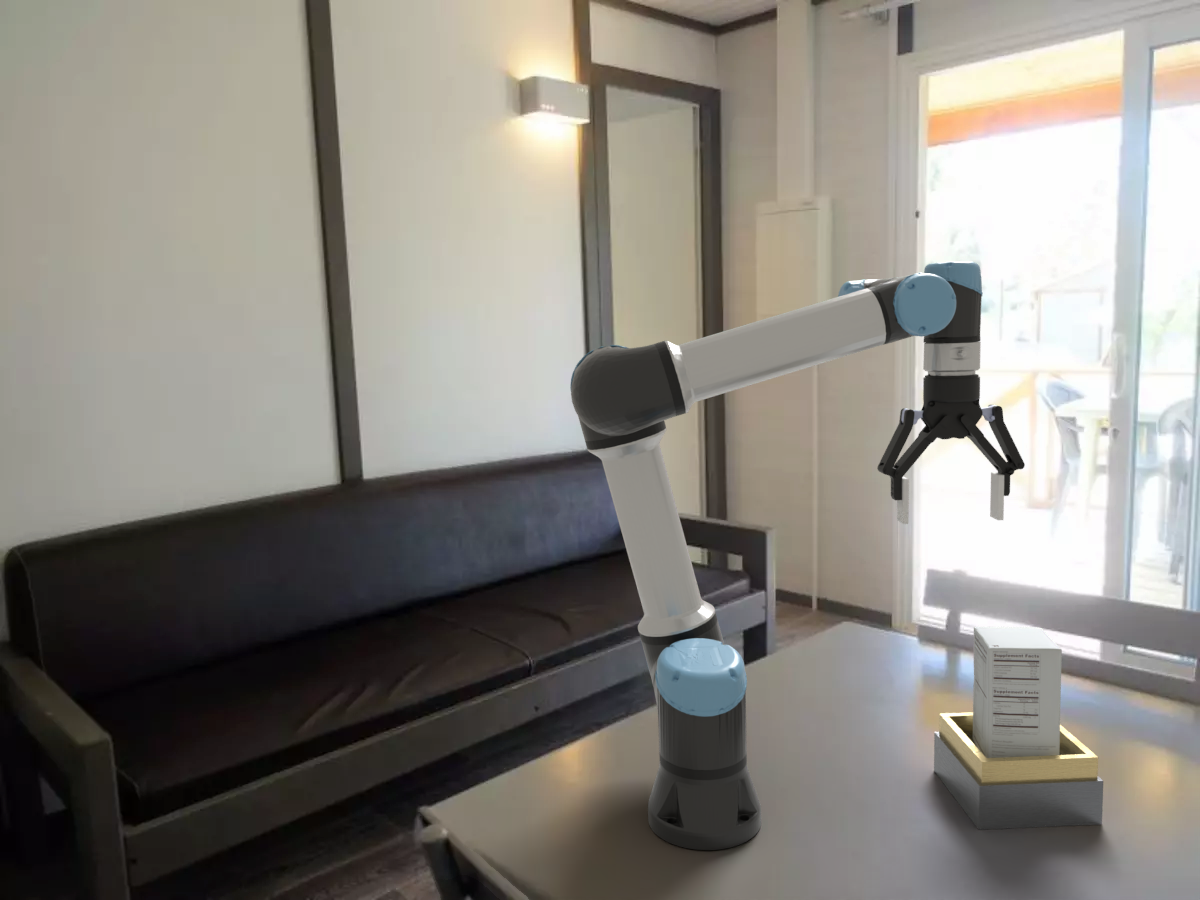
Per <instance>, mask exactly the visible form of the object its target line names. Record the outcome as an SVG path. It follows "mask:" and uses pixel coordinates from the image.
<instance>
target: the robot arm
mask: <svg viewBox="0 0 1200 900" xmlns="http://www.w3.org/2000/svg"><path fill="white" fill-rule="evenodd" d="M923 271H924V272H922V271H921V272H915V273H913V274H909V275H905V276H897V277H888V278H878V279H865V278H864V279H860V280H847V281H846V282H844V283H843V284H842V285H841V286H840V289H839V291H838V295H837V296H836V297H833V298H830V299H826V300H824V301H819V302H817V303H813V304H811V305H806V306H803V307H800V308H797V309H793V310H790V311H787V312H784V313H780V314H777V315H774V316H773V315H772V316H770V317H767V318H763V319H760V320H757V321H753V322H750V323H747V324H744V325H741V326H736V327H734V328H730V329H727V330H723V331H720V332H717V333H714V334H710V335H707V336H704V337H701V338H697V339H693V340H690V341H688V342H687V341H686V342H684V343H680V344H674V343H672V342H670V341H668V340H664V341H663V340H662V341H660V342H656V343H653V344H649V345H645V346H644V345H643V346H638V347H637V346H636V347H627V346H623V345H618V344H610V345H605V346H604V345H603V346H600V347H598V348H594V349H592V350H591V351H589V352H587V353H586V354H585V355H583V357H581V358H580V360H579V361H578V362H577V363H576V365H575V367H574V369H573V372H572V374H571V378H570V396H571V402H572V405H573V408H574V411H575V414H576V415H577V417H578V421H579V425H580V428H581V431H582V434H583V435H582V436H583V439H584V442H585V445H586V450H587V452H589V453H591V454H592V455H594V456H596V457H598V458H599V459H600V460H601V463H602V468H603V471H604V474H605V478H606V481H607V485H608V488H609V491H610V496H611V499H612V502H613V506H614V510H615V514H616V517H617V521H618V524H619V529H620V531H621V534H622V538H623V542H624V545H625V549H626V553H627V557H628V561H629V563H630V567H631V571H632V575H633V578H634V581H635V585H636V588H637V593H638V596H639V600H640V602H641V603H640V604H641V606H642V607H641V608H642V611H643V617H641V620H640V622H638V625H637V630H638V634H639V637H640V642H641V645H642V648H643V652H644V657H645V659H646V660H645V661H646V666H647V669H648V672H649V675H650V677H651V683H652V686H653V687H652V688H653V691H654V697H655V701H656V707H657V719H658V720H657V721H658V722H657V723H658V726H657V727H658V750H659V751H658V752H659V753H658V754H659V765H658V766H659V767H658V769H657V772H656V775H655V776H656V777H655V779H654V782H653V786H652V788H651V792H650V795H649V798H648V803H647V804H648V805H647V811H648V812H647V814H648V815H647V816H648V819H647V821H648V824H649V827H650V828H651V831H653V833H654V834H655V835H656V836H657V837H659V838H660V839H661V840H663V841H665V842H667V843H669V844H672V845H673V846H677V847H681V848H685V849H689V850H696V851H715V850H716V851H718V850H725V849H730V848H734V847H736V846H739V845H742V844H745V843H746V842H748V841H749V840H750V839H752V838H754V837H755V836H756V835H757V833H758V832H759V831H760V830H761V826H762V806H761V800H760V799H759V796H758V795H759V794H758V793H757V790H756V787H755V785H754V781H753V779H752V776H751V772H750V771H749V768H748V755H747V752H748V751H747V748H748V747H747V742H748V741H747V699H746V698H747V697H746V695H747V685H748V679H747V678H748V677H747V673H746V668H745V662H744V660H743V657H742V655H741V654H740V653H739V652H738V651H737V650H736V649H735V648H734V647H732V646H731V645H729V644H725V642H724V639H723V635H722V631H721V627H720V624H719V620H718V615H717V613H716V608H715V607H714V605H713V604H711V603H710V602H707V601H705V600H703V599H702V597H701V594H700V593H701V592H700V589H699V586H698V582H697V577H696V575H695V571H694V566H693V564H692V563H693V562H692V560H691V556H690V551H689V549H688V545H687V541H686V536H685V533H684V530H683V526H682V522H681V519H680V516H679V511H678V507H677V503H676V501H675V496H674V494H673V489H672V485H671V481H670V477H669V474H668V471H667V466H666V463H665V459H664V455H663V451H662V447H661V445H660V444H661V440H662V439H663V436H665V434H666V431H667V426H666V422H665V421H667V420H669V419H673V418H675V417H678V416H681V415H684V414H687V413H689V411H690V409H691V407H692V406H693V405H694V404H695V403H696V402H699V401H703V400H706V399H709V398H712V397H713V398H714V397H717V396H719V395H722V394H726V393H730V392H733V391H737V390H739V389H742V388H743V389H744V388H745V387H748V386H751V385H755V384H758V383H762V382H765V381H769V380H771V379H775V378H779V377H781V376H785V375H789V374H791V373H792V374H793V373H794V372H798V371H801V370H805V369H808V368H810V367H811V368H812V367H814V366H817V365H821V364H823V363H828V362H831V361H834V360H838V359H842V358H844V357H847V356H850V355H853V354H854V355H855V354H857V353H861V352H864V351H867V350H870V349H874V348H876V347H880V346H883V345H888V344H891V343H895V342H898V341H902V340H905V339H909V338H911V337H921V338H922V337H923V361H922V362H923V366H922V367H923V369H922V370H924V372H927V374H925V375H924V377H923V378H922V379H923V387H922V388H923V389H922V391H923V392H922V395H923V396H922V397H923V398H922V401H923V403H922V404H923V405H922V408H921V409H920V410H919V409H911V408H907V407H903V408H902V409H900V412H899V413H900V414H899V422H898V424H897V426H896V429H895V431H894V433H893V435H892V437H891V439H890V440H889V443H888V445H887V447H886V449H885V451H884V453H883V455H882V456H881V459H880V461H879V463H878V465H877V471H878V472H879V473H881V474H883V475H884V476H885V475H886V476H889V478H890V496H891V499H892V500H894V501H897V503H896V520H897V521H898V522H899V523H901V524H902V525H908V524H909V518H910V517H909V516H910V515H909V512H910V511H909V510H910V509H909V504H910V503H909V500H910V499H909V498H910V497H909V495H910V493H909V492H910V491H909V490H910V489H909V488H910V487H909V486H910V485H909V483H910V481H909V480H910V479H909V478H908V477H905V475H906V473H908V471H909V470H910V468H912V467H913V465H914V464H915V463H916V462H917V460H918V459H919V458H920V457H921V456H922V455H923V453H924V452H925V451H926V449H927V448H928V447H929V446H930V445H931V444H932V443H934V442H935V441H936V440H937V439H940V440H950V439H953V438H954V439H958V440H959V439H960V440H963V439H965V438H968V440H971V443H972V444H973V445H975V447H976V448H977V449H978V450H979V451H980V452H981V453H982V454H983V456H984V457H985V458H986V459H987V460H988V462H989V463H990V464H991V465H992V466H993V467H994V468H995V470H996V471H997V472H994V471H993V472H990V508H989V511H990V514H989V515H990V517H991V518H992V519H995V520H997V521H1004V511H1005V508H1004V506H1005V499H1004V498H1005V497H1009V496H1010V492H1011V476H1012V475H1014V474H1015V471H1018V470H1023V469H1024V468H1025V462H1024V460H1023V458H1022V456H1021V453H1020V451H1019V449H1018V448H1017V446H1016V444H1015V441H1014V439H1013V438H1012V435H1011V433H1010V431H1009V429H1008V427H1007V426H1006V423H1005V421H1004V413H1003V407H1002V406H1000V405H996V404H988V405H987V406H984V407H981V405H980V398H981V397H980V396H981V376H980V375H979V374H978V373H976V371H979V370H980V369H981V324H982V322H981V321H982V318H981V317H982V297H983V287H982V286H983V285H982V284H983V283H982V275H981V274H982V271H981V267H980V265H979V264H978V263H977V262H975V261H970V260H969V261H968V260H967V261H966V260H964V261H963V260H961V261H960V260H959V261H945V262H933V263H932V262H931V263H928V264H926V265H925V267H924V270H923ZM982 417H983V418H984V420H985V421H986V422H988V426H989V427H990V429H991V431H992V432H993V435H994V437H995V439H996V440H997V443H998V445H999V447H1000V449H1001V452H1002V453H1003V455H1004V457H1005V458H1004V457H1003V456H1002V455H1001V453H999V452H998V450H997V449H996V448H995V447H994V445H992V443H991V442H990V441H989V440H988V439H987V438H986V436H985V435H984V433H983V432H982V431H981V429H980V428H979V427H978V426H977V424H978V423H979V422H980V419H981V418H982ZM920 419H921V421H922V422H923V424H924V425H925V426H924V427H923V428H922V429H921V430H920V432H919V433H918V435H917V437H916V439H914V440H913V442H912V443H911V444H910V446H909V447H908V448H906V451H904V453H903V454H902V455H901V456H900V453H901V452H902V450H903V448H904V446H905V444H906V442H907V440H908V437H909V436H910V434H911V432H912V430H913V427H914V425H916V424H918V421H919V420H920ZM899 456H900V457H899ZM1005 459H1006V460H1005Z"/></svg>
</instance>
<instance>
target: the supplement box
mask: <svg viewBox="0 0 1200 900" xmlns="http://www.w3.org/2000/svg"><path fill="white" fill-rule="evenodd" d="M1062 654H1063V650H1062V648H1061V647H1060V646H1059V645H1058V644H1057V643H1056V642H1055V641H1054V640H1053V639H1052V638H1051V637H1050V636H1049V635H1048V633H1046V631H1045V630H1043V628H1042V627H1038V626H1037V627H1036V626H1035V627H1034V626H974V627H973V686H972V687H973V689H972V691H973V692H972V695H973V696H972V712H973V741H974V743H975V745H976V747H977V748H978V749H979V750H980V751H981V752H982V753H983V755H984V756H985V757H986V758H1001V757H1025V756H1050V755H1059V749H1060V725H1061V703H1062V702H1061V700H1062V699H1061V698H1062V697H1061V693H1062V661H1063V660H1062V658H1063V657H1062Z"/></svg>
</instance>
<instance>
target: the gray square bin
mask: <svg viewBox="0 0 1200 900" xmlns="http://www.w3.org/2000/svg"><path fill="white" fill-rule="evenodd" d="M938 715H939V717H938V720H939V723H938V726H939V727H938V729H939V730H938V731H934V733H933V734H934V737H933V739H934V740H933V741H934V746H933V747H934V749H933V752H934V754H933V756H934V757H933V771H934V773H935V774H936V775H937V777H938V778H939V779H940V781H941V782H942V783H943V784H944V786H945V787H946V789H947V790H948V791H949V793H950V794H951V796H953V797H954V799H955V800H956V802H957V803H958V804H959V806H960V807H961V808H962V809H963V811H964V812H965V814H966V815H967V816H968V818H969V819H970V820H971V822H972V823H973V824H974V825H975V827H976V828H977V829H978V830H996V829H997V830H999V829H1001V830H1003V829H1021V828H1022V829H1024V828H1025V829H1026V828H1027V829H1028V828H1048V827H1052V828H1053V827H1069V826H1071V827H1072V826H1073V827H1075V826H1093V825H1095V826H1096V825H1097V826H1098V825H1103V804H1104V803H1103V801H1104V780H1103V779H1102V778H1101V777H1100V776H1098V775H1099V774H1098V773H1099V769H1098V768H1099V757H1098V755H1096V754H1095V753H1094V752H1093V751H1091V750H1090V749H1089V747H1087V746H1086V745H1085V744H1084V743H1082V742H1081V741H1080V740H1079V739H1078V738H1077V737H1075V736H1074V735H1073V734H1072V733H1071V732H1070V731H1069V730H1067V729H1066V728H1065V727H1064V726H1062V724H1060V749H1059V755H1050V756H1025V757H1001V758H986V757H985V756H984V755H983V753H982V752H981V751H980V750H979V749H978V748H977V747H976V745H975V743H974V741H973V711H972V712H971V711H970V712H968V711H967V712H945V713H939V714H938Z"/></svg>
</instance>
